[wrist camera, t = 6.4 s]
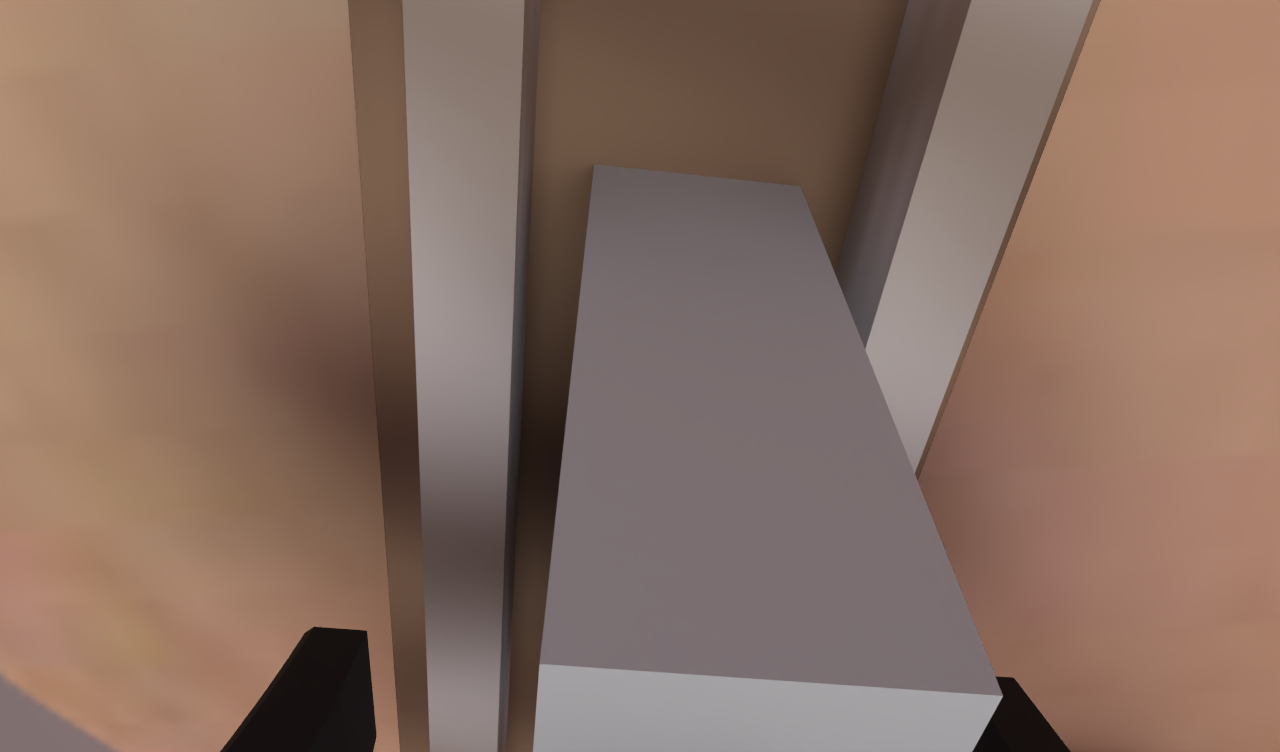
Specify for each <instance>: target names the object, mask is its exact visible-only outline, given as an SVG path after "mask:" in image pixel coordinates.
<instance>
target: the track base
mask: <svg viewBox="0 0 1280 752" xmlns="http://www.w3.org/2000/svg"><path fill="white" fill-rule="evenodd" d="M1100 1H1101V0H348V6H349V21H350V35H351V50H352V64H353V79H354V93H355V108H356V122H357V136H358V151H359V165H360V180H361V194H362V209H363V223H364V238H365V252H366V266H367V281H368V295H369V310H370V324H371V339H372V353H373V368H374V382H375V396H376V411H377V425H378V440H379V454H380V469H381V483H382V498H383V512H384V526H385V541H386V555H387V570H388V584H389V599H390V613H391V628H392V642H393V656H394V671H395V685H396V700H397V714H398V729H399V743H400V752H533V743H534V730H535V717H536V704H537V690H538V677H539V664H540V655H541V646H542V636H543V627H544V618H545V609H546V600H547V591H548V582H549V572H550V563H551V554H552V545H553V536H554V527H555V517H556V508H557V499H558V490H559V481H560V472H561V463H562V453H563V444H564V435H565V426H566V417H567V408H568V398H569V389H570V380H571V371H572V362H573V353H574V344H575V334H576V325H577V316H578V307H579V298H580V289H581V279H582V270H583V261H584V252H585V243H586V234H587V225H588V215H589V206H590V197H591V188H592V179H593V170H594V164H597V165H607V166H616V167H625V168H635V169H644V170H653V171H663V172H672V173H681V174H691V175H700V176H709V177H719V178H728V179H738V180H747V181H756V182H766V183H775V184H784V185H794V186H800V187H801V189H802V192H803V194H804V197H805V199H806V202H807V204H808V207H809V209H810V212H811V215H812V217H813V220H814V222H815V225H816V227H817V230H818V232H819V235H820V237H821V240H822V242H823V245H824V247H825V250H826V252H827V255H828V257H829V260H830V262H831V265H832V267H833V270H834V272H835V275H836V277H837V280H838V282H839V285H840V287H841V290H842V292H843V295H844V297H845V300H846V302H847V305H848V307H849V310H850V313H851V315H852V318H853V320H854V323H855V325H856V328H857V330H858V333H859V335H860V338H861V340H862V343H863V345H864V348H865V350H866V353H867V355H868V358H869V360H870V363H871V365H872V368H873V370H874V373H875V375H876V378H877V380H878V383H879V385H880V388H881V390H882V393H883V395H884V398H885V400H886V403H887V405H888V408H889V411H890V413H891V416H892V418H893V421H894V423H895V426H896V428H897V431H898V433H899V436H900V438H901V441H902V443H903V446H904V448H905V451H906V453H907V456H908V458H909V461H910V463H911V466H912V468H913V471H914V473H915V476H916V478H917V480H918V478H919V475H920V473H921V470H922V467H923V465H924V462H925V459H926V457H927V454H928V452H929V449H930V446H931V444H932V441H933V438H934V436H935V433H936V431H937V428H938V425H939V423H940V420H941V417H942V415H943V412H944V410H945V407H946V404H947V402H948V399H949V396H950V394H951V391H952V389H953V386H954V383H955V381H956V378H957V376H958V373H959V370H960V368H961V365H962V362H963V360H964V357H965V355H966V352H967V349H968V347H969V344H970V341H971V339H972V336H973V334H974V331H975V328H976V326H977V323H978V320H979V318H980V315H981V313H982V310H983V307H984V305H985V302H986V299H987V297H988V294H989V292H990V289H991V286H992V284H993V281H994V278H995V276H996V273H997V271H998V268H999V265H1000V263H1001V260H1002V257H1003V255H1004V252H1005V250H1006V247H1007V244H1008V242H1009V239H1010V237H1011V234H1012V231H1013V229H1014V226H1015V223H1016V221H1017V218H1018V216H1019V213H1020V210H1021V208H1022V205H1023V202H1024V200H1025V197H1026V195H1027V192H1028V189H1029V187H1030V184H1031V181H1032V179H1033V176H1034V174H1035V171H1036V168H1037V166H1038V163H1039V160H1040V158H1041V155H1042V153H1043V150H1044V147H1045V145H1046V142H1047V139H1048V137H1049V134H1050V132H1051V129H1052V126H1053V124H1054V121H1055V119H1056V116H1057V113H1058V111H1059V108H1060V105H1061V103H1062V100H1063V98H1064V95H1065V92H1066V90H1067V87H1068V84H1069V82H1070V79H1071V77H1072V74H1073V71H1074V69H1075V66H1076V63H1077V61H1078V58H1079V56H1080V53H1081V50H1082V48H1083V45H1084V42H1085V40H1086V37H1087V35H1088V32H1089V29H1090V27H1091V24H1092V21H1093V19H1094V16H1095V14H1096V11H1097V8H1098V6H1099V3H1100Z"/></svg>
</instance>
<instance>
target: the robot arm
mask: <svg viewBox="0 0 1280 752" xmlns="http://www.w3.org/2000/svg"><path fill="white" fill-rule="evenodd" d="M996 679H997V682H998V684H999V687H1000V689H1001V692H1002V694H1003V697H1002V699H1001V701H1000V703H999V704H998V706H997V708H996V710H995V712H994V713H993V715H992V717H991V719H990V721H989V722H988V724H987V726H986V728H985V730H984V731H983V733H982V735H981V737H980V739H979V740H978V742H977V744H976V746H975V748H974V750H973V751H972V752H1070V750H1069V749H1068V748H1067V747H1066V745H1065V744H1064V743H1063V741H1062V740H1061V739H1060V737H1059V736H1058V735H1057V733H1056V732H1055V731H1054V730H1053V728H1052V727H1051V726H1050V724H1049V723H1048V722H1047V720H1046V719H1045V718H1044V717H1043V715H1042V714H1041V713H1040V711H1039V710H1038V709H1037V707H1036V706H1035V705H1034V704H1033V702H1032V701H1031V700H1030V698H1029V697H1028V696H1027V694H1026V693H1025V692H1024V691H1023V689H1022V688H1021V687H1020V685H1019V684H1018V683H1017V681H1016V680H1015V679H1014V678H1009V677H996ZM375 740H376V726H375V715H374V704H373V693H372V682H371V671H370V660H369V649H368V638H367V631H363V630H349V629H336V628H322V627H313V628H312V629H310V630H309V631H307V632H305V634H304V635H303V637H302V638H301V640H300V641H299V643H298V644H297V646H296V647H295V649H294V650H293V652H292V653H291V655H290V656H289V658H288V659H287V661H286V662H285V664H284V665H283V667H282V668H281V670H280V671H279V672H278V674H277V675H276V677H275V678H274V680H273V681H272V683H271V684H270V685H269V687H268V688H267V690H266V691H265V692H264V694H263V695H262V697H261V698H260V699H259V701H258V702H257V703H256V705H255V706H254V708H253V709H252V710H251V712H250V713H249V714H248V716H247V717H246V718H245V720H244V721H243V722H242V724H241V725H240V726H239V728H238V729H237V730H236V732H235V733H234V734H233V736H232V737H231V738H230V740H229V741H228V742H227V744H226V745H225V746H224V747H223V749H222V750H221V751H220V752H373V750H374V745H375Z"/></svg>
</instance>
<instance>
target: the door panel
mask: <svg viewBox="0 0 1280 752" xmlns="http://www.w3.org/2000/svg"><path fill="white" fill-rule="evenodd" d="M1002 697H1003V694H1002V692H1001V689H1000V687H999V684H998V682H997V679H996V677H995V674H994V672H993V669H992V667H991V664H990V662H989V659H988V657H987V654H986V652H985V649H984V647H983V644H982V642H981V639H980V637H979V634H978V632H977V629H976V627H975V624H974V622H973V619H972V617H971V614H970V612H969V609H968V607H967V604H966V602H965V599H964V596H963V594H962V591H961V589H960V586H959V584H958V581H957V579H956V576H955V574H954V571H953V569H952V566H951V564H950V561H949V559H948V556H947V554H946V551H945V549H944V546H943V544H942V541H941V539H940V536H939V534H938V531H937V529H936V526H935V524H934V521H933V519H932V516H931V514H930V511H929V509H928V506H927V504H926V501H925V498H924V496H923V493H922V491H921V488H920V486H919V483H918V481H917V478H916V476H915V473H914V471H913V468H912V466H911V463H910V461H909V458H908V456H907V453H906V451H905V448H904V446H903V443H902V441H901V438H900V436H899V433H898V431H897V428H896V426H895V423H894V421H893V418H892V416H891V413H890V411H889V408H888V405H887V403H886V400H885V398H884V395H883V393H882V390H881V388H880V385H879V383H878V380H877V378H876V375H875V373H874V370H873V368H872V365H871V363H870V360H869V358H868V355H867V353H866V350H865V348H864V345H863V343H862V340H861V338H860V335H859V333H858V330H857V328H856V325H855V323H854V320H853V318H852V315H851V313H850V310H849V307H848V305H847V302H846V300H845V297H844V295H843V292H842V290H841V287H840V285H839V282H838V280H837V277H836V275H835V272H834V270H833V267H832V265H831V262H830V260H829V257H828V255H827V252H826V250H825V247H824V245H823V242H822V240H821V237H820V235H819V232H818V230H817V227H816V225H815V222H814V220H813V217H812V215H811V212H810V209H809V207H808V204H807V202H806V199H805V197H804V194H803V192H802V189H801V187H800V186H794V185H784V184H775V183H766V182H756V181H747V180H738V179H728V178H719V177H709V176H700V175H691V174H681V173H672V172H663V171H653V170H644V169H635V168H625V167H616V166H607V165H597V164H594V170H593V179H592V188H591V197H590V206H589V215H588V225H587V234H586V243H585V252H584V261H583V270H582V279H581V289H580V298H579V307H578V316H577V325H576V334H575V344H574V353H573V362H572V371H571V380H570V389H569V398H568V408H567V417H566V426H565V435H564V444H563V453H562V463H561V472H560V481H559V490H558V499H557V508H556V517H555V527H554V536H553V545H552V554H551V563H550V572H549V582H548V591H547V600H546V609H545V618H544V627H543V636H542V646H541V655H540V664H539V677H538V690H537V704H536V717H535V730H534V743H533V752H972V751H973V750H974V748H975V746H976V744H977V742H978V740H979V739H980V737H981V735H982V733H983V731H984V730H985V728H986V726H987V724H988V722H989V721H990V719H991V717H992V715H993V713H994V712H995V710H996V708H997V706H998V704H999V703H1000V701H1001V699H1002Z"/></svg>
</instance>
